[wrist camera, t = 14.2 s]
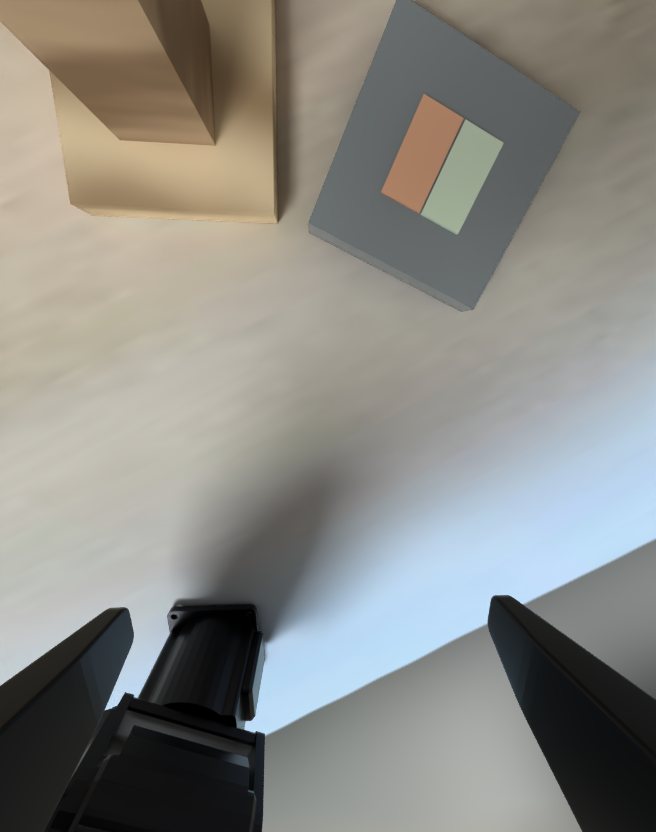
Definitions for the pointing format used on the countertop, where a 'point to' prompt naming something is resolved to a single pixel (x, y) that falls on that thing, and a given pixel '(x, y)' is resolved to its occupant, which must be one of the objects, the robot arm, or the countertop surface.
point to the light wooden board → (187, 163)
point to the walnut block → (127, 62)
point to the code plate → (438, 159)
